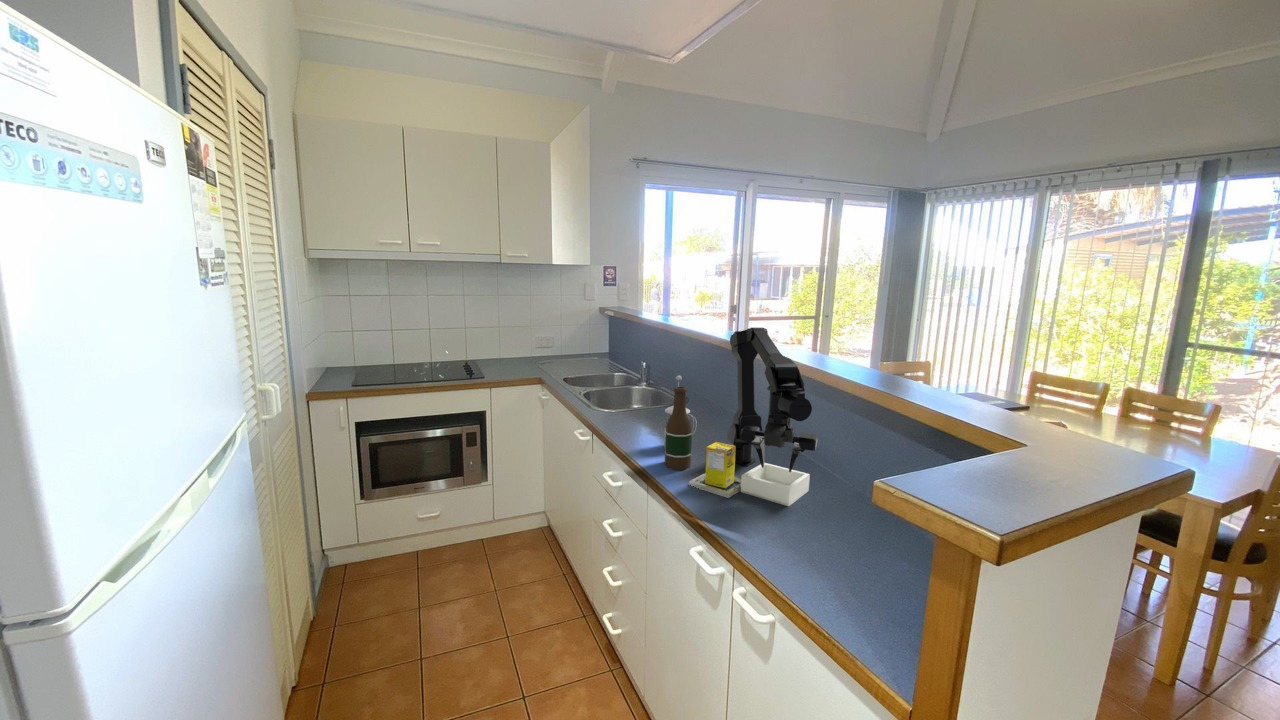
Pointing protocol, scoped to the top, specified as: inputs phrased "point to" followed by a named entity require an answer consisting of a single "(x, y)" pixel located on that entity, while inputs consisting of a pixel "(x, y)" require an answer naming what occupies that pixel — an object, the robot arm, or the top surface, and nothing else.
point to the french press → (670, 410)
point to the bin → (775, 484)
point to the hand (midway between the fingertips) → (776, 469)
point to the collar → (715, 490)
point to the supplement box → (720, 465)
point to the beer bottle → (678, 434)
